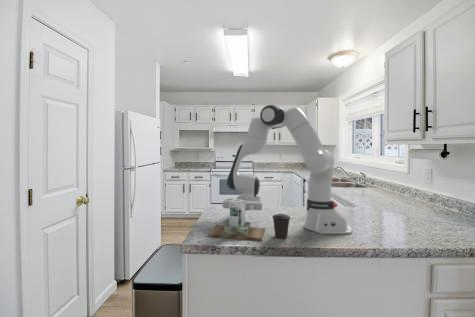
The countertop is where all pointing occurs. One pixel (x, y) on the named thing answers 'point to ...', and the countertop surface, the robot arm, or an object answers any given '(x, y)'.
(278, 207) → the countertop surface
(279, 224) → the coffee cup
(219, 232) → the collar stand
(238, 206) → the syrup box
